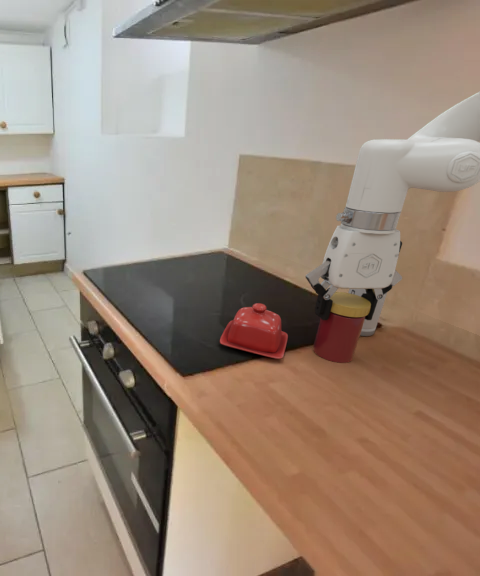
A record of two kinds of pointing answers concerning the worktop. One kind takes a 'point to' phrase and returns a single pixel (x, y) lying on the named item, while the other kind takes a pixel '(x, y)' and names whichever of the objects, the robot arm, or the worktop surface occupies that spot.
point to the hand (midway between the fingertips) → (342, 316)
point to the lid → (350, 305)
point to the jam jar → (338, 337)
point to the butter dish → (256, 332)
